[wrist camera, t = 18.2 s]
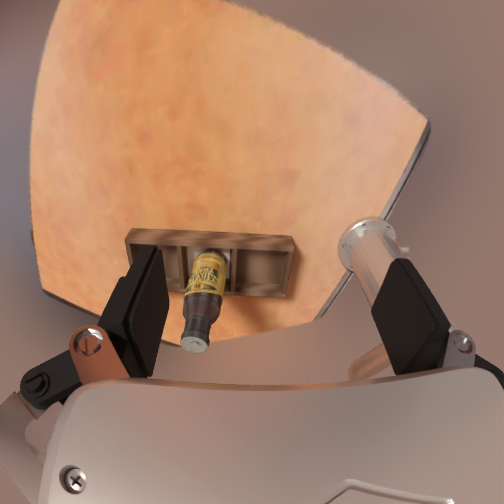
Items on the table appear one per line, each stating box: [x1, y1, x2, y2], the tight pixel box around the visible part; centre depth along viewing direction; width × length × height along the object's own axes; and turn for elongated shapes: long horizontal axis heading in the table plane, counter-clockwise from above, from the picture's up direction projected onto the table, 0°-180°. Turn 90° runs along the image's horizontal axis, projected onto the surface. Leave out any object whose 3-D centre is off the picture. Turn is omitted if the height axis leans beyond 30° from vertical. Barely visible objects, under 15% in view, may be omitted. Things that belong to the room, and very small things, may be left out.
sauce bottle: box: [180, 249, 227, 353], centre depth 46 cm, size 7×6×20 cm
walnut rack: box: [125, 228, 294, 297], centre depth 53 cm, size 30×12×4 cm, turn 86°
